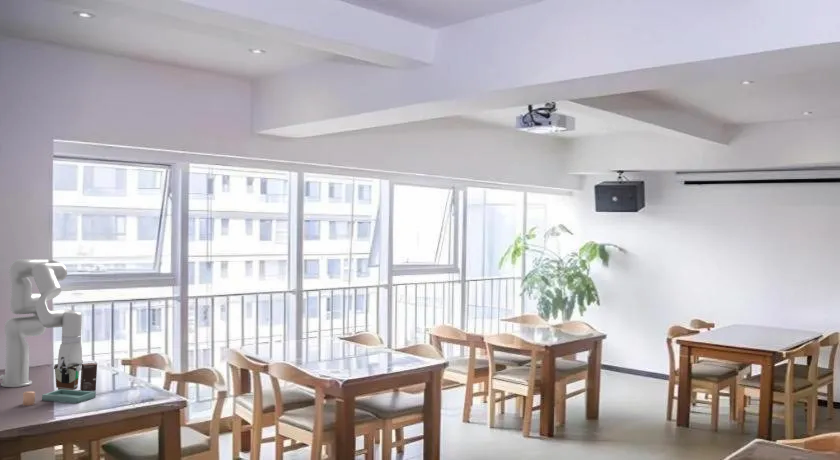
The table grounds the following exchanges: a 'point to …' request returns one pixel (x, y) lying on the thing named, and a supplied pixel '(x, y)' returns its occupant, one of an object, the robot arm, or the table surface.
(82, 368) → the box
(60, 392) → the tray
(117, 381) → the table surface
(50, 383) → the table surface
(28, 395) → the beige rounded cube
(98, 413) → the table surface
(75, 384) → the food container
